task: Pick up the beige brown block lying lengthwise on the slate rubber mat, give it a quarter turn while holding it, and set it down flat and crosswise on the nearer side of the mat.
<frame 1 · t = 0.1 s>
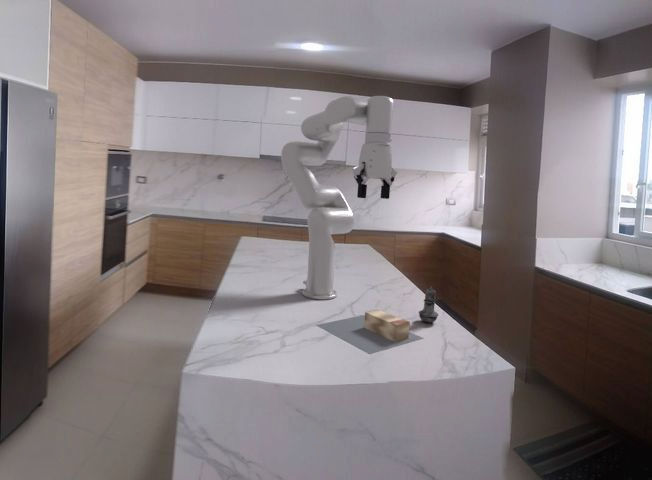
hand: (373, 198, 123), 37 cm above the countertop, tool pointing down, fingers open, 9 cm apart
beige brown block: (385, 332, 112), point 1 cm above the countertop, touching slate mat
grey chess piece: (427, 325, 123), on the countertop
slate mat: (368, 334, 112), on the countertop
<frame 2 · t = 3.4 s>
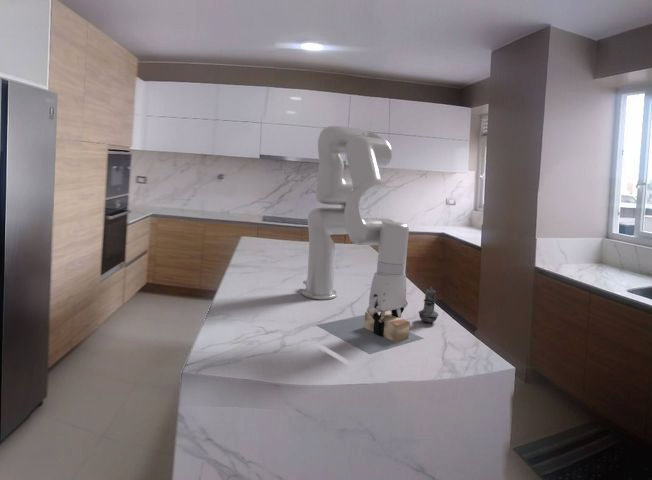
hand: (385, 332, 112), 1 cm above the countertop, tool pointing down, fingers closed on beige brown block, 5 cm apart
beige brown block: (385, 332, 112), point 1 cm above the countertop, touching gripper, slate mat
everything else where it was.
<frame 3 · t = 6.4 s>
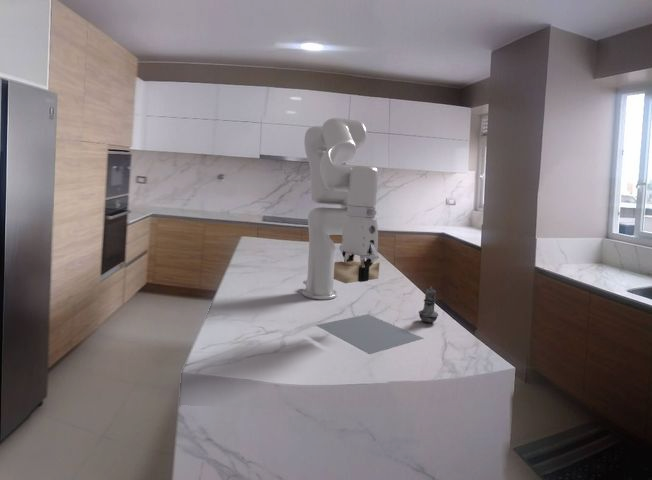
hand: (356, 278, 112), 15 cm above the countertop, tool pointing down, fingers closed on beige brown block, 5 cm apart
beige brown block: (356, 278, 112), point 15 cm above the countertop, touching gripper
everything else where it was.
when the fingers open (2 cm above the countertop, at t = 9.2 s): beige brown block drops 1 cm, resting on slate mat.
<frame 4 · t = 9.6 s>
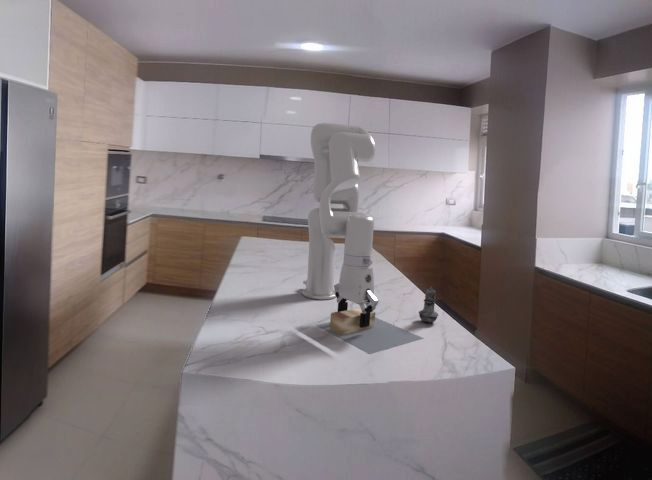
hand: (352, 321, 114), 3 cm above the countertop, tool pointing down, fingers open, 9 cm apart
beige brown block: (352, 328, 114), point 1 cm above the countertop, touching slate mat
everything else where it was.
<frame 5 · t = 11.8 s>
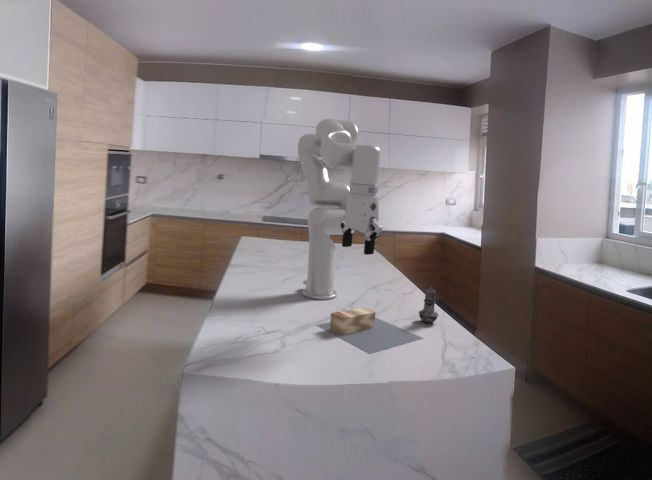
hand: (357, 250, 117), 22 cm above the countertop, tool pointing down, fingers open, 9 cm apart
nothing on the countertop moved.
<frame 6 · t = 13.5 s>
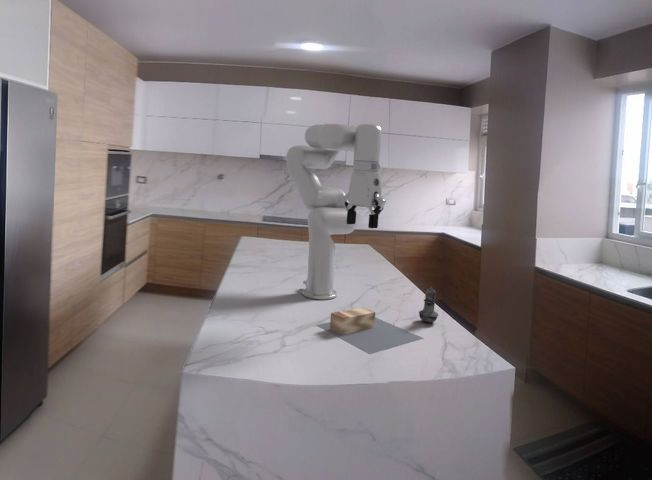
hand: (361, 225, 122), 28 cm above the countertop, tool pointing down, fingers open, 9 cm apart
nothing on the countertop moved.
at the end: beige brown block 0.1 cm from the target spot on the slate mat, point 0.8 cm above the slate mat's base; beige brown block tilted 0°; the gripper is holding nothing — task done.
